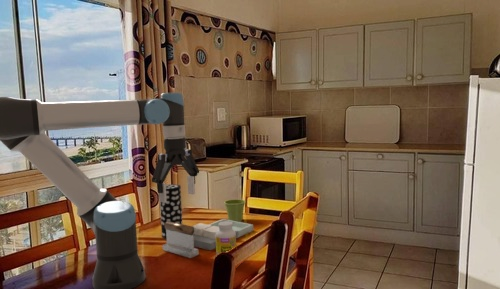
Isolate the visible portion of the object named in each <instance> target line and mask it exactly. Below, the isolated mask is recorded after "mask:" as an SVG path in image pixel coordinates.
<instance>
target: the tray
mask: <svg viewBox="0 0 500 289" xmlns="http://www.w3.org/2000/svg"><path fill="white" fill-rule="evenodd" d="M223 221H230V222H232V224H233V227H232V229H233V230H234V231H238V238H240V237H242V236H244V235H247V234H249V233H251V232H253V231H254V224H251V223H247V222H243V221H241V222H237V221H232V220H228V218H227V219H226V218H222V219H219V220H217V221H214V222H211V223H209V224H208V225H212V226H217V227H218V224H219V223H220V222H223Z"/></svg>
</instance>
